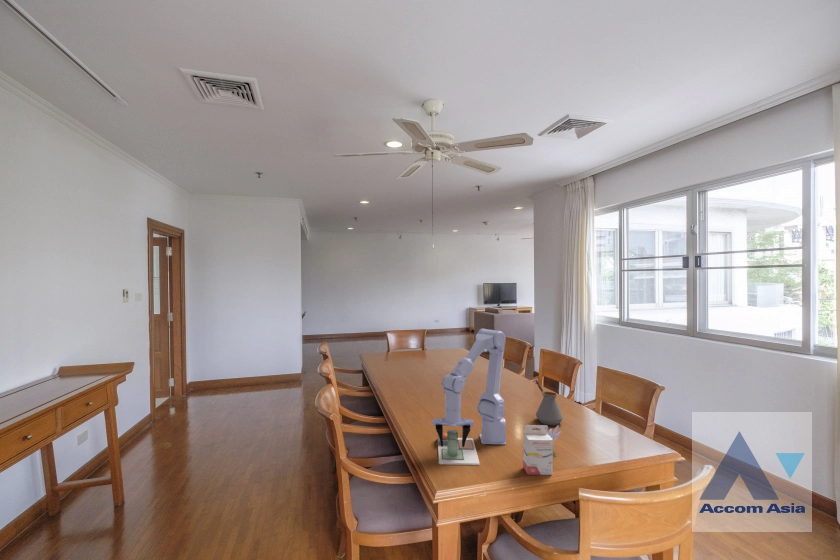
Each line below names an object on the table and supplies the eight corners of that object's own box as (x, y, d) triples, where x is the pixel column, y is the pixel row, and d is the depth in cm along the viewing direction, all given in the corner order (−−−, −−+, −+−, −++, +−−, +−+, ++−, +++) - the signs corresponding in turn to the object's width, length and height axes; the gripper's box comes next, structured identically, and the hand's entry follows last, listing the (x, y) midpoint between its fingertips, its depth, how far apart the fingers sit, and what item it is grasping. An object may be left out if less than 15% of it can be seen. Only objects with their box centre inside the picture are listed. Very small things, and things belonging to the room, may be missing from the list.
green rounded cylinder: (457, 451, 134) (457, 429, 134) (458, 456, 130) (458, 434, 130) (446, 451, 134) (447, 429, 134) (447, 456, 130) (447, 434, 130)
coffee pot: (567, 427, 160) (567, 392, 160) (542, 427, 159) (542, 393, 159) (546, 409, 181) (546, 379, 181) (524, 410, 180) (524, 379, 180)
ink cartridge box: (527, 475, 120) (528, 430, 120) (522, 467, 125) (523, 424, 125) (553, 475, 120) (553, 430, 120) (547, 467, 125) (548, 424, 125)
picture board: (472, 439, 146) (473, 433, 146) (479, 465, 126) (479, 458, 126) (437, 438, 146) (437, 432, 146) (438, 464, 126) (439, 457, 126)
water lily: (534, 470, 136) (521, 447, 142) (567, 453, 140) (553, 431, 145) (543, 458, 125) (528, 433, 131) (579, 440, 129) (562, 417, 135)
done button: (450, 438, 144) (450, 433, 144) (450, 442, 140) (450, 437, 140) (441, 437, 144) (441, 432, 144) (441, 441, 141) (441, 436, 141)
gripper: (432, 411, 128) (432, 450, 128) (474, 412, 128) (473, 451, 128) (432, 404, 135) (432, 441, 136) (472, 405, 135) (471, 442, 135)
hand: (452, 445), depth 132 cm, fingers open, 7 cm apart
